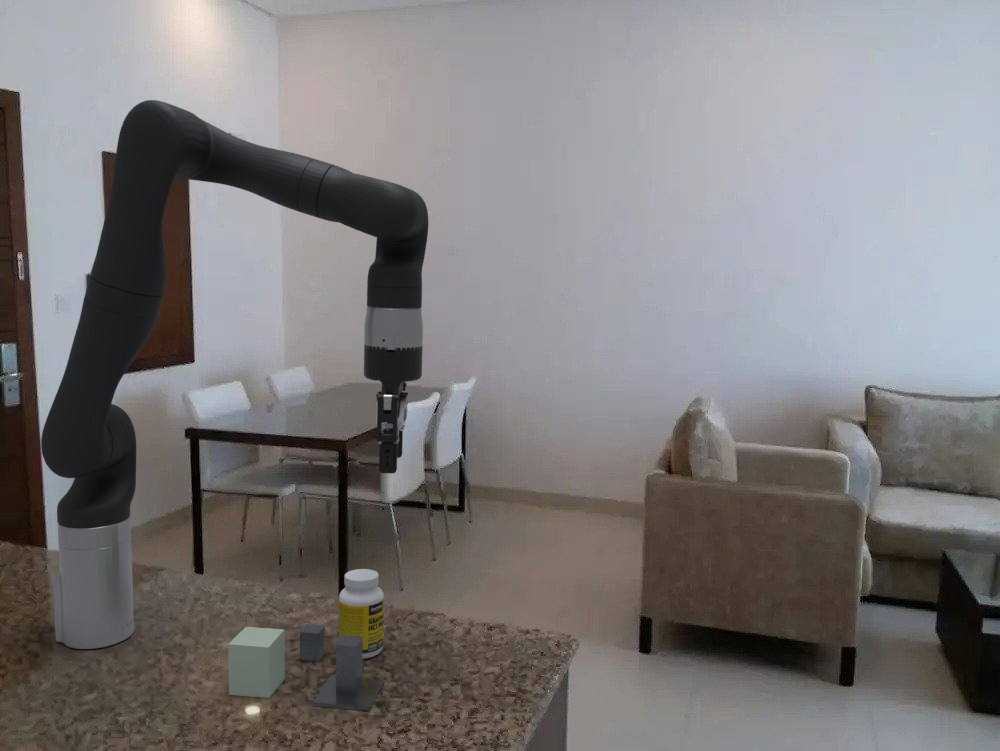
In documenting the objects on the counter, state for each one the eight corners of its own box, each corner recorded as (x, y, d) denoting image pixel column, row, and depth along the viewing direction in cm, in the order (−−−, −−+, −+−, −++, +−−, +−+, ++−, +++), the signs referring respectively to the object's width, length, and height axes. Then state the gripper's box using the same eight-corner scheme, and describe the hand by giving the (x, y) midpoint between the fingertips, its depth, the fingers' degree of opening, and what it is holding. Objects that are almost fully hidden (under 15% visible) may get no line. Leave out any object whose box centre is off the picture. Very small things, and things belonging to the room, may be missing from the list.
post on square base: (312, 705, 101) (312, 651, 100) (331, 678, 108) (331, 627, 107) (368, 710, 100) (368, 655, 99) (383, 682, 107) (384, 631, 106)
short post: (299, 660, 113) (299, 632, 112) (306, 651, 115) (306, 624, 115) (318, 661, 113) (318, 633, 112) (324, 653, 115) (324, 625, 115)
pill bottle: (374, 663, 113) (375, 584, 111) (331, 657, 114) (331, 580, 113) (389, 643, 119) (390, 568, 117) (348, 638, 120) (348, 564, 119)
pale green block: (229, 694, 103) (228, 644, 103) (246, 674, 109) (246, 626, 108) (269, 698, 103) (268, 647, 102) (285, 678, 108) (284, 629, 107)
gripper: (370, 337, 115) (368, 452, 117) (357, 346, 101) (355, 477, 103) (425, 338, 115) (422, 453, 117) (419, 348, 101) (416, 479, 103)
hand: (391, 464), depth 110 cm, fingers open, 8 cm apart
